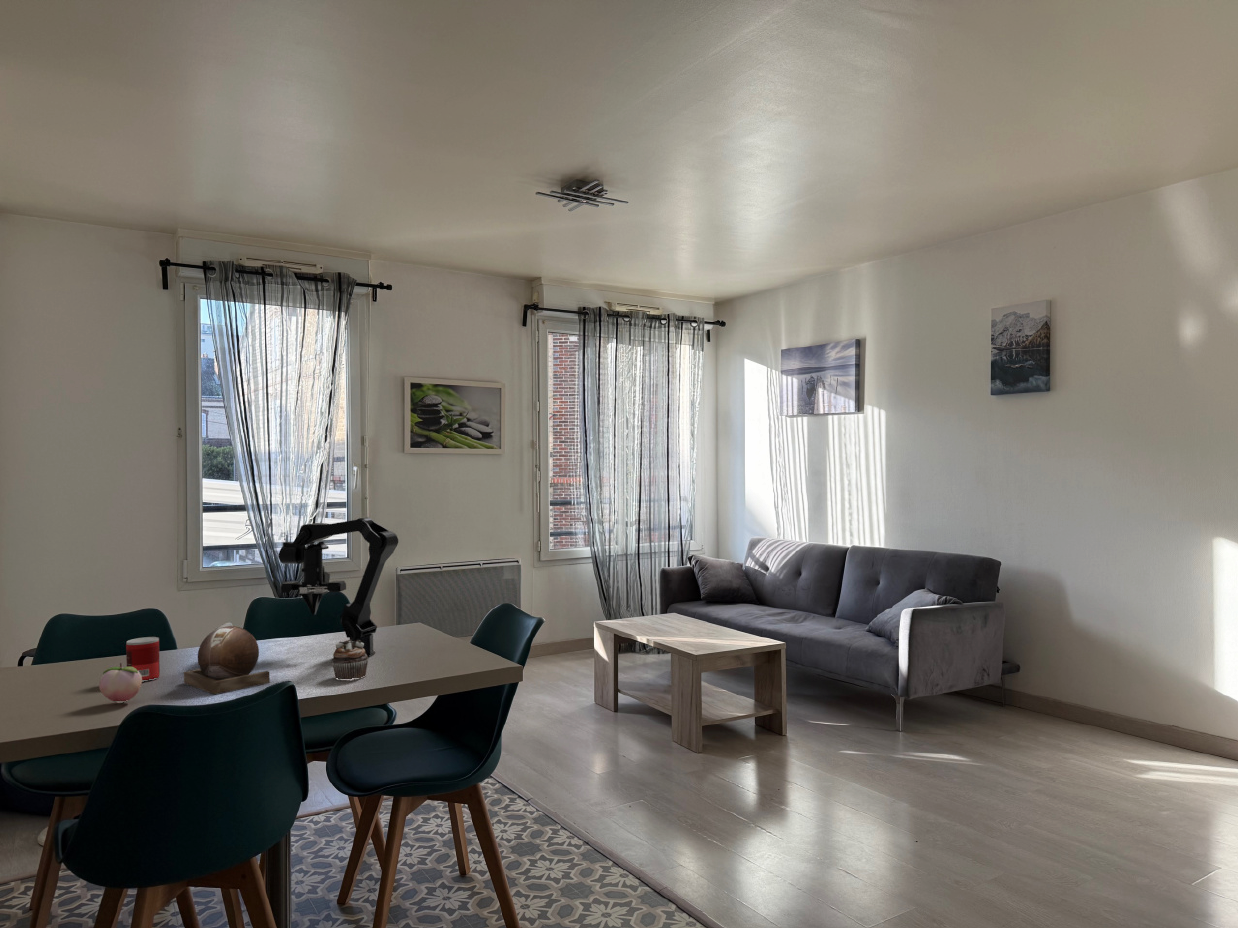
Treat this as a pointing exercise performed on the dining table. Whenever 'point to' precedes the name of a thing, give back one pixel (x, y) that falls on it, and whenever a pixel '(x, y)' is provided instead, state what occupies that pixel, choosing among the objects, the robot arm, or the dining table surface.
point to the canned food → (144, 656)
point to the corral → (224, 681)
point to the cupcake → (350, 660)
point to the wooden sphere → (228, 653)
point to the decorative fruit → (120, 683)
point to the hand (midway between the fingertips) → (313, 614)
